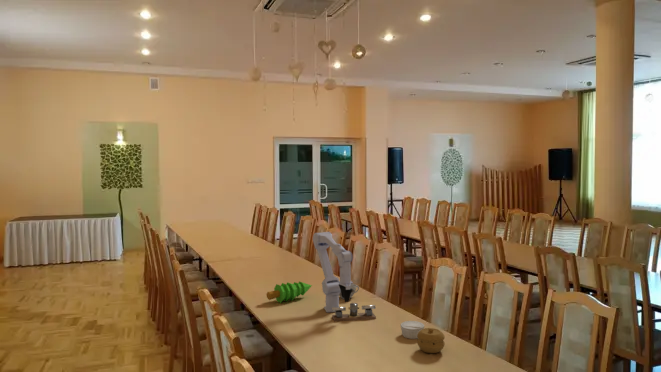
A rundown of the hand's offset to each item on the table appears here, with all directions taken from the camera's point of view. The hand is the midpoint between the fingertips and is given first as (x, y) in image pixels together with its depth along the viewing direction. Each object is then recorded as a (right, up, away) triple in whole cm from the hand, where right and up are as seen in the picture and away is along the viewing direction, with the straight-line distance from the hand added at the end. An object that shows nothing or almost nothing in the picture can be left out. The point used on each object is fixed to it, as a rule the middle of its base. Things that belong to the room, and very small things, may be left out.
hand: (345, 299), depth 256 cm
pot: (+36, -12, -45) cm, 59 cm away
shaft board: (+4, -9, -1) cm, 10 cm away
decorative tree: (-31, -8, +33) cm, 46 cm away
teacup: (+3, -8, +36) cm, 37 cm away
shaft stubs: (+4, -8, -1) cm, 9 cm away
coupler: (+4, -8, -1) cm, 9 cm away
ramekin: (+31, -11, -27) cm, 42 cm away
